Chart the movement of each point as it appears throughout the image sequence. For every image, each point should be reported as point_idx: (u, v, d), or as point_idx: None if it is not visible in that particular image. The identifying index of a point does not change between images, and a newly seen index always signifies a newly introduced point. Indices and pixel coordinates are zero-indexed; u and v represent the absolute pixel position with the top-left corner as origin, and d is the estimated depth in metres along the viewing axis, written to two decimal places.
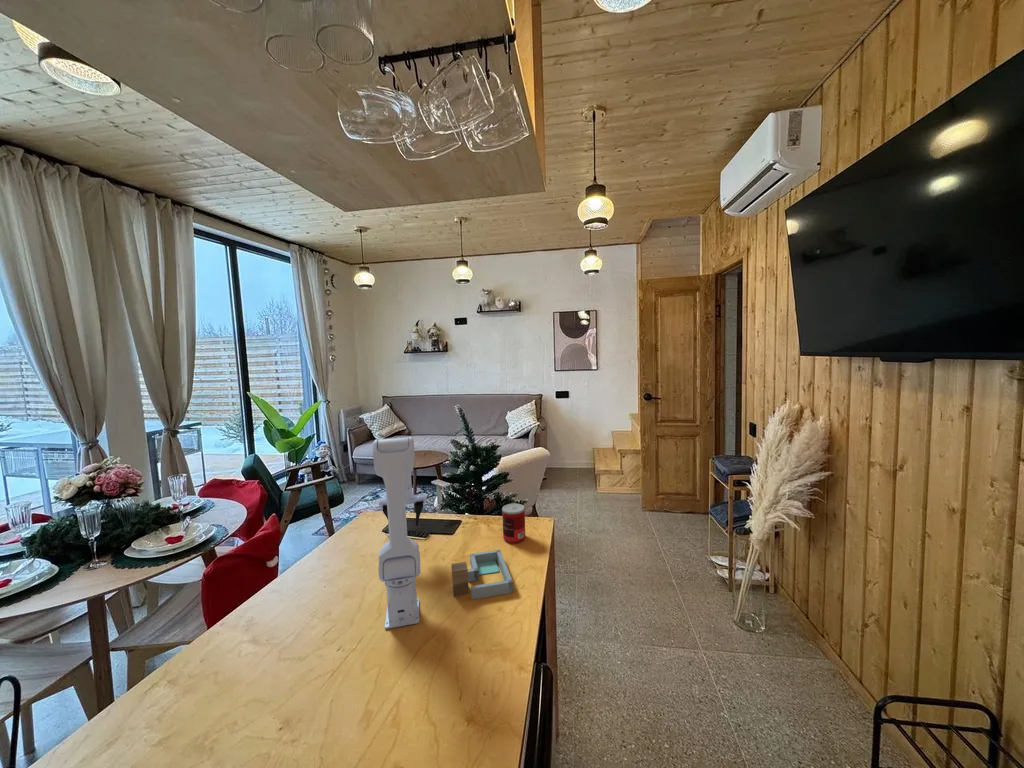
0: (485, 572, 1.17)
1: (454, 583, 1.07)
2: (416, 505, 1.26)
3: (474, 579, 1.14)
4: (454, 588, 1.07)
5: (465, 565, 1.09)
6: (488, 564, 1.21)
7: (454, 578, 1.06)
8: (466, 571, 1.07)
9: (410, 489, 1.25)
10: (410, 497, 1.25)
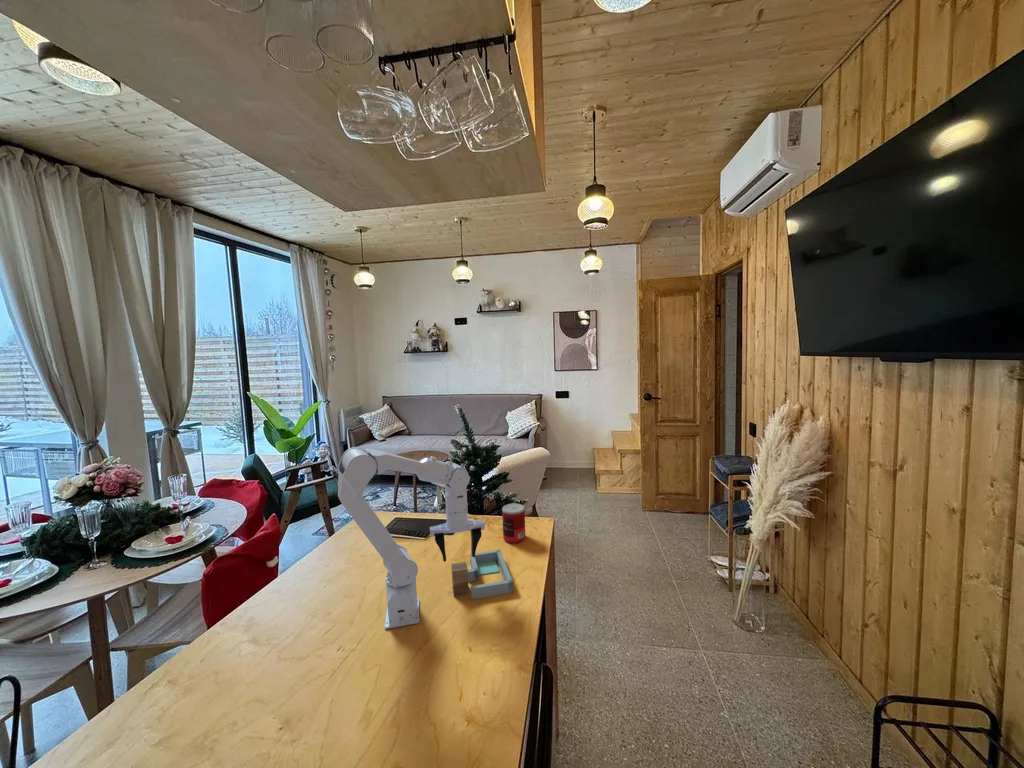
0: (485, 572, 1.17)
1: (454, 583, 1.07)
2: (473, 533, 1.07)
3: (474, 579, 1.14)
4: (454, 588, 1.07)
5: (465, 565, 1.09)
6: (488, 564, 1.21)
7: (454, 578, 1.06)
8: (466, 571, 1.07)
9: (466, 514, 1.07)
10: (466, 524, 1.06)
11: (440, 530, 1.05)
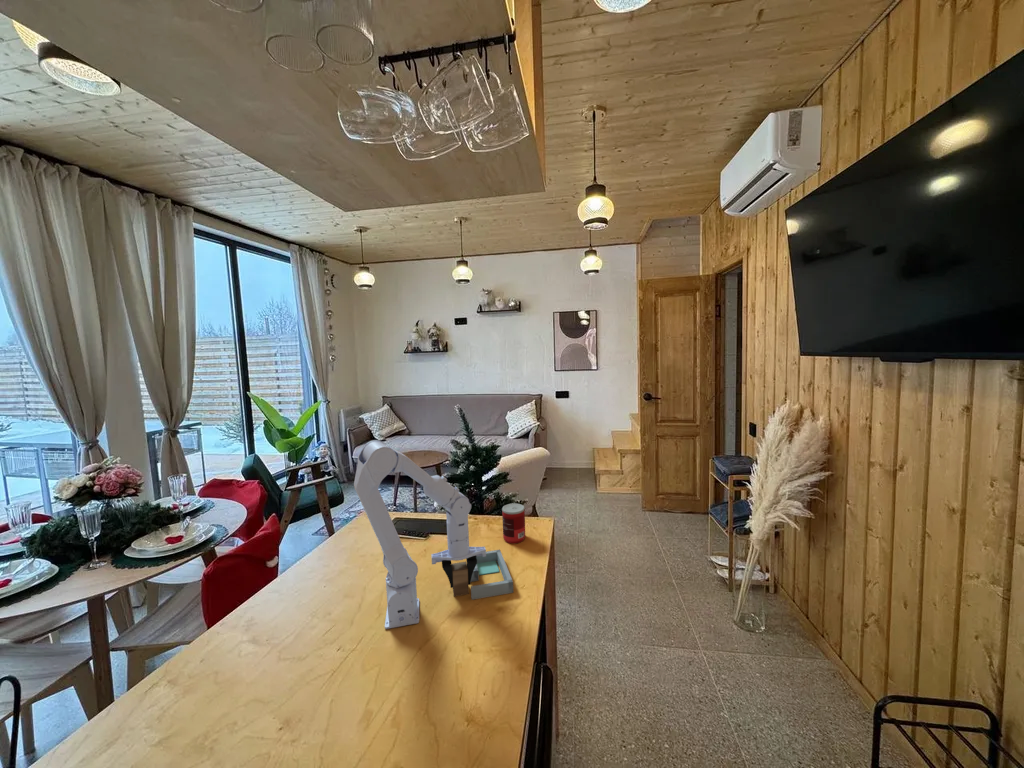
0: (485, 572, 1.17)
1: (454, 583, 1.07)
2: (474, 560, 1.07)
3: (474, 579, 1.14)
4: (454, 588, 1.07)
5: (465, 565, 1.09)
6: (488, 564, 1.21)
7: (454, 578, 1.06)
8: (466, 571, 1.07)
9: (468, 542, 1.07)
10: (468, 551, 1.07)
11: (441, 558, 1.06)
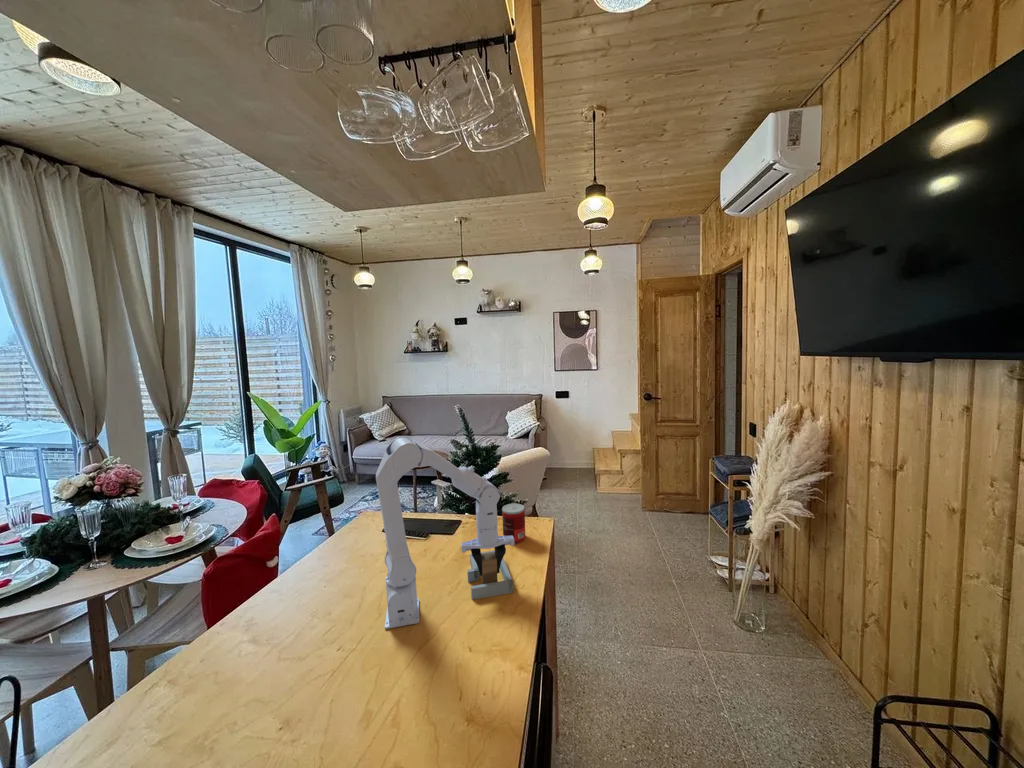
0: None
1: (483, 572, 1.08)
2: (503, 549, 1.09)
3: (474, 579, 1.14)
4: (483, 577, 1.08)
5: (494, 555, 1.11)
6: None
7: (483, 567, 1.08)
8: (495, 560, 1.09)
9: (496, 530, 1.09)
10: (497, 540, 1.09)
11: (471, 546, 1.07)
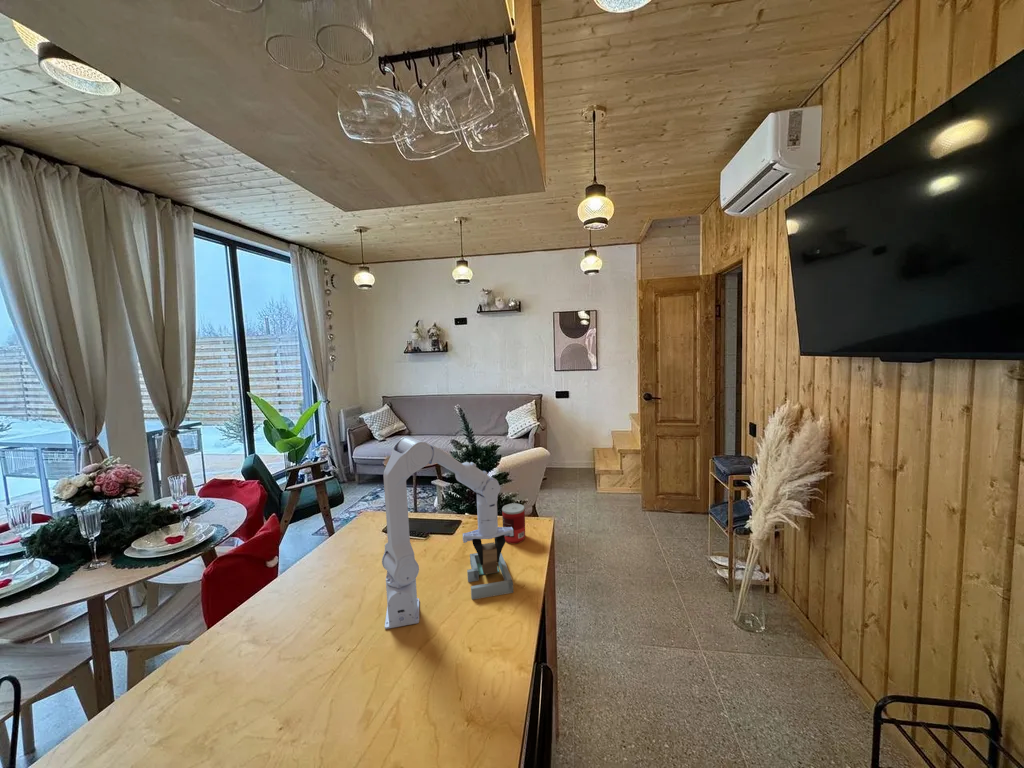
0: None
1: (484, 562, 1.14)
2: (503, 539, 1.14)
3: (474, 579, 1.14)
4: (484, 566, 1.14)
5: (494, 545, 1.16)
6: None
7: (484, 557, 1.14)
8: (495, 550, 1.14)
9: (496, 522, 1.14)
10: (497, 530, 1.14)
11: (472, 536, 1.13)
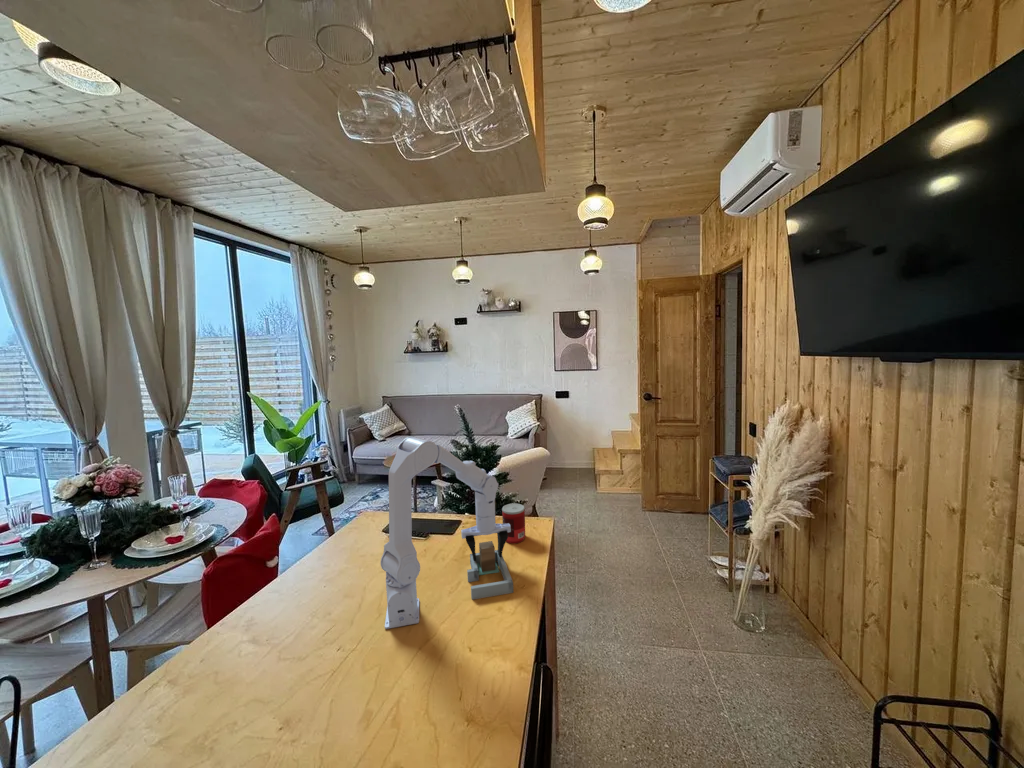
0: (485, 572, 1.17)
1: (482, 560, 1.17)
2: (500, 535, 1.18)
3: (474, 579, 1.14)
4: (482, 564, 1.17)
5: (492, 544, 1.20)
6: None
7: (482, 555, 1.17)
8: (493, 549, 1.18)
9: (494, 518, 1.18)
10: (494, 527, 1.18)
11: (471, 532, 1.16)
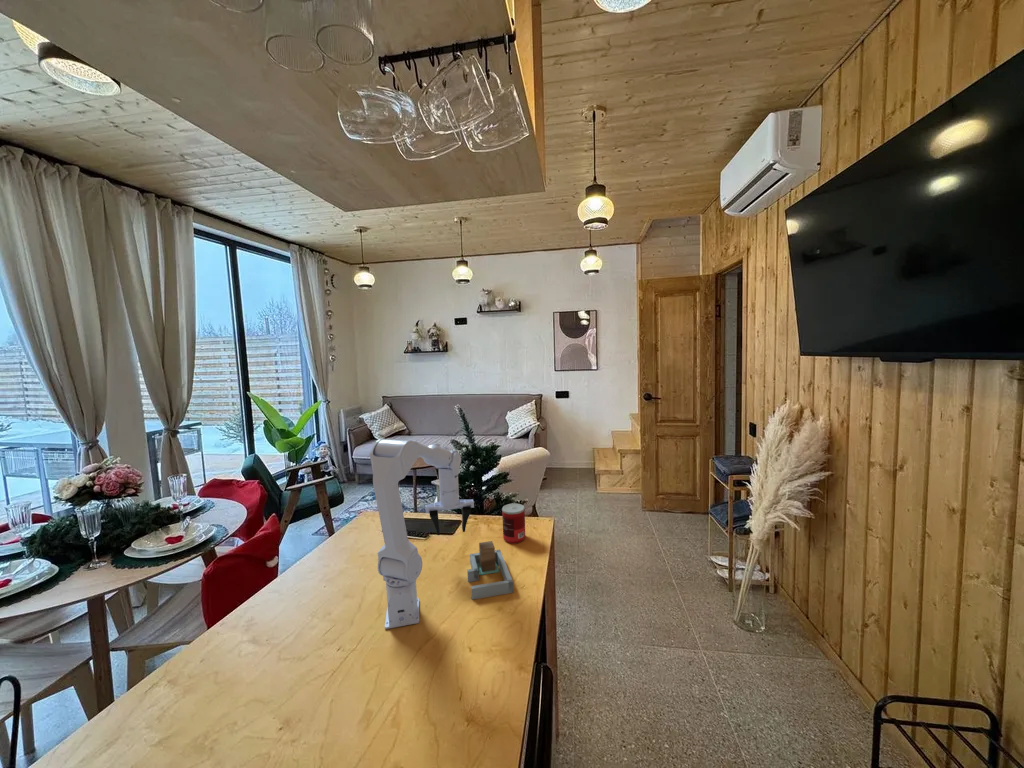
0: (485, 572, 1.17)
1: (482, 560, 1.17)
2: (464, 510, 1.21)
3: (474, 579, 1.14)
4: (482, 564, 1.17)
5: (492, 544, 1.20)
6: None
7: (482, 555, 1.17)
8: (493, 549, 1.18)
9: (457, 494, 1.21)
10: (457, 502, 1.21)
11: (434, 507, 1.19)
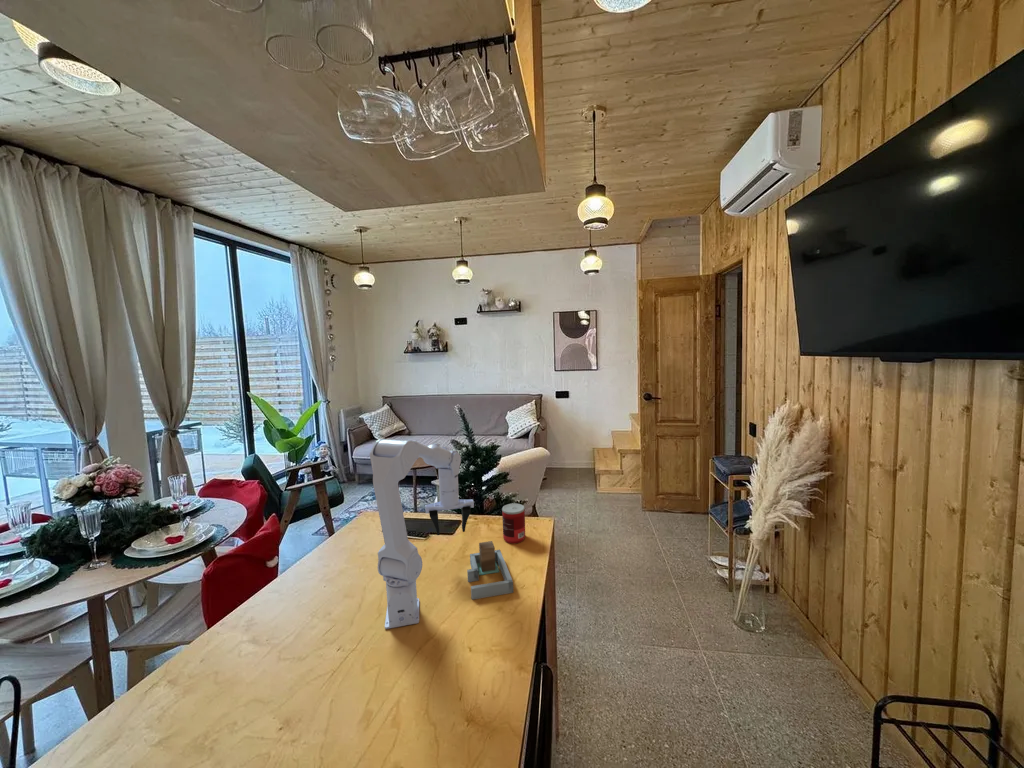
0: (485, 572, 1.17)
1: (482, 560, 1.17)
2: (463, 510, 1.21)
3: (474, 579, 1.14)
4: (482, 564, 1.17)
5: (492, 544, 1.20)
6: None
7: (482, 555, 1.17)
8: (493, 549, 1.18)
9: (457, 493, 1.21)
10: (457, 502, 1.21)
11: (434, 507, 1.19)
